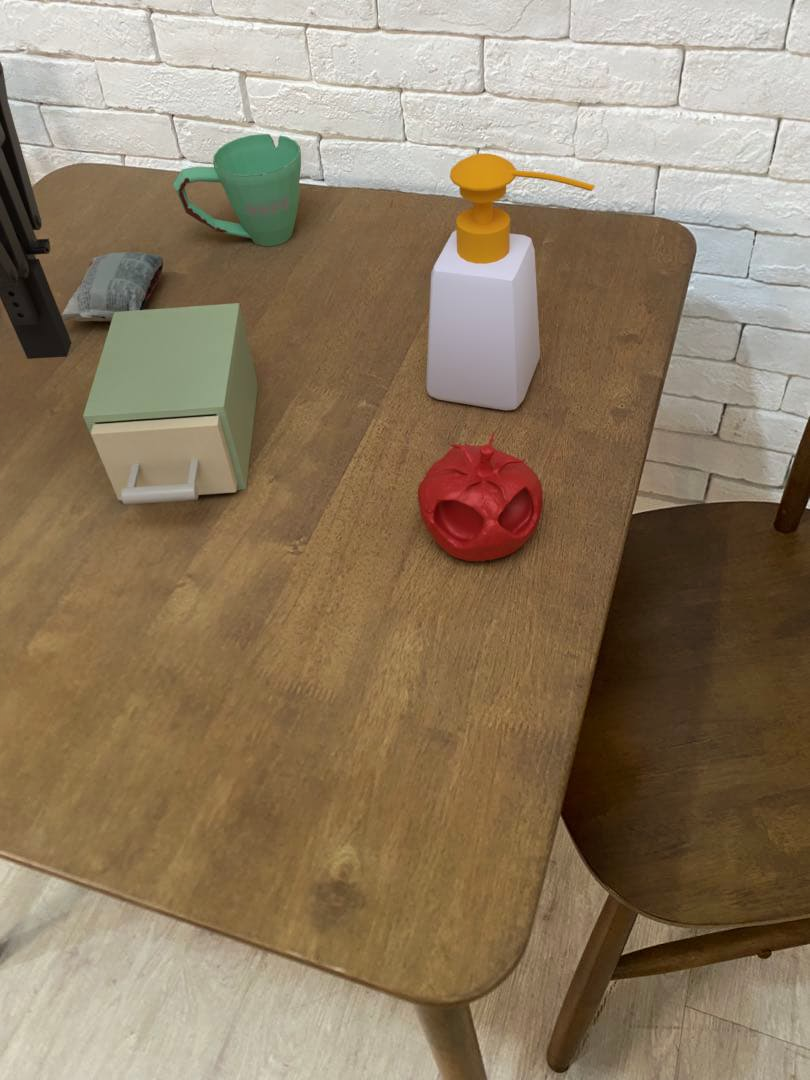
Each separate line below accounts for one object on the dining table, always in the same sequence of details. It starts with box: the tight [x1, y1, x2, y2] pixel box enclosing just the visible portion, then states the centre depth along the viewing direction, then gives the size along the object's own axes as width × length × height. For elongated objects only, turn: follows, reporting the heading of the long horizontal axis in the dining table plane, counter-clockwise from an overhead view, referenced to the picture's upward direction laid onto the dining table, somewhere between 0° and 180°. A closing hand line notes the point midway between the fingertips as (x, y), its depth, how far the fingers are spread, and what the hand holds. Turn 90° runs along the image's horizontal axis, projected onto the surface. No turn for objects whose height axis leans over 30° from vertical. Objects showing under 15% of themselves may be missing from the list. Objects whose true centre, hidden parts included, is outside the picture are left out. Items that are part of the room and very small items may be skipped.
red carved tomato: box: [417, 430, 544, 562], centre depth 75 cm, size 10×10×9 cm
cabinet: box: [82, 302, 259, 498], centre depth 84 cm, size 15×12×10 cm
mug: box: [172, 133, 302, 247], centre depth 108 cm, size 15×10×10 cm
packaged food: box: [61, 251, 164, 322], centre depth 102 cm, size 9×12×5 cm
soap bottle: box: [425, 153, 596, 411], centre depth 82 cm, size 10×14×22 cm
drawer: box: [90, 414, 238, 506], centre depth 82 cm, size 18×10×8 cm, turn 2°
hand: (49, 350), depth 63 cm, fingers closed
